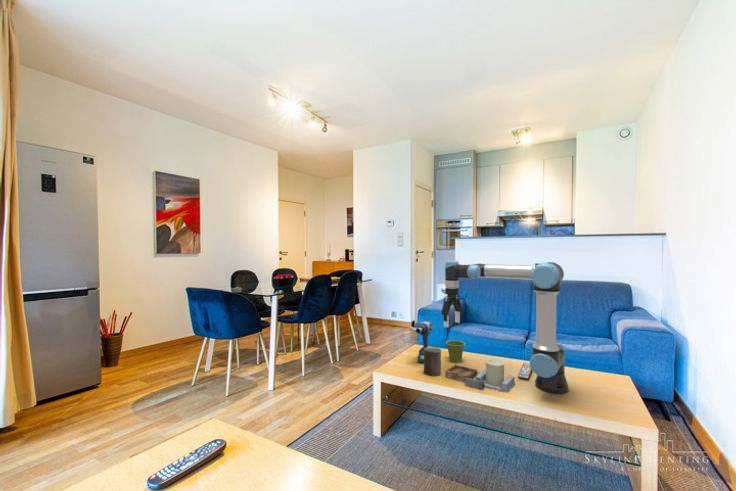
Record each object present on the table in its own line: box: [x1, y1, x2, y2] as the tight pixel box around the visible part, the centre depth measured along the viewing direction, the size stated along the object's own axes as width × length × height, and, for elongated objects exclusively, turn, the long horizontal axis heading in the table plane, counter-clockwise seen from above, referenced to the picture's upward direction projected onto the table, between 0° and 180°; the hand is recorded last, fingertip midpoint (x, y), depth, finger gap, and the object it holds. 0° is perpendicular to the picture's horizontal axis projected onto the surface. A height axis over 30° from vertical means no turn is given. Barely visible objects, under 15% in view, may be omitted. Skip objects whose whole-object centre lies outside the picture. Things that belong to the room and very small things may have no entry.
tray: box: [445, 364, 478, 383], centre depth 189 cm, size 13×13×4 cm
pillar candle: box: [423, 346, 442, 377], centre depth 195 cm, size 10×10×15 cm
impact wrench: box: [415, 320, 434, 364], centre depth 213 cm, size 8×22×25 cm, turn 152°
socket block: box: [474, 369, 516, 393], centre depth 179 cm, size 16×15×4 cm
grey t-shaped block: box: [464, 377, 486, 391], centre depth 176 cm, size 9×4×4 cm, turn 51°
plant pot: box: [445, 339, 466, 363], centre depth 216 cm, size 12×12×11 cm
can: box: [485, 359, 505, 388], centre depth 179 cm, size 9×9×12 cm
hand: (451, 324), depth 195 cm, fingers open, 13 cm apart
